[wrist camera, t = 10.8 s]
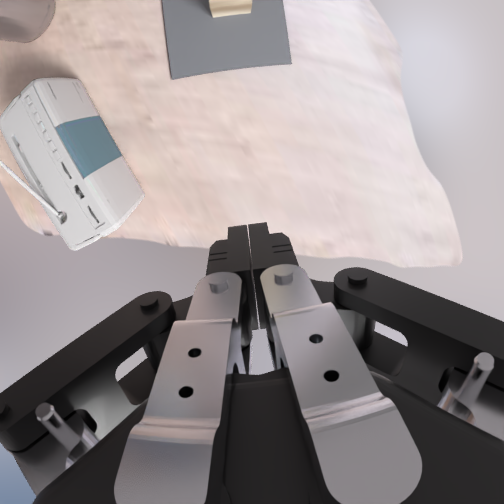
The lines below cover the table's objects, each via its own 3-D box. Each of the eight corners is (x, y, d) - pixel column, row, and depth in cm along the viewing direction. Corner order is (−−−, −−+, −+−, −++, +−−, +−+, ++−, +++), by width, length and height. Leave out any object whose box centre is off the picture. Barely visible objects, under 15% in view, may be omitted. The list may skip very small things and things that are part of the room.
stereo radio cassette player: (151, 192, 45) (100, 256, 27) (109, 218, 46) (48, 288, 28) (85, 76, 36) (-2, 74, 18) (46, 108, 37) (-44, 127, 19)
